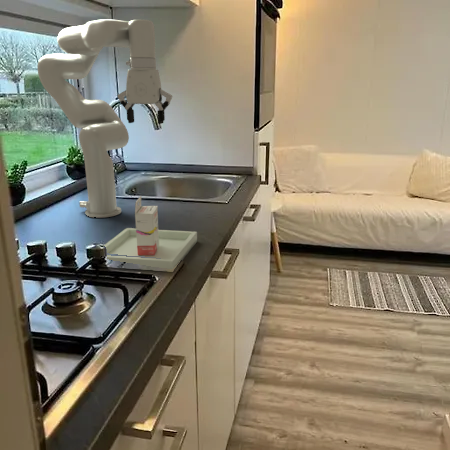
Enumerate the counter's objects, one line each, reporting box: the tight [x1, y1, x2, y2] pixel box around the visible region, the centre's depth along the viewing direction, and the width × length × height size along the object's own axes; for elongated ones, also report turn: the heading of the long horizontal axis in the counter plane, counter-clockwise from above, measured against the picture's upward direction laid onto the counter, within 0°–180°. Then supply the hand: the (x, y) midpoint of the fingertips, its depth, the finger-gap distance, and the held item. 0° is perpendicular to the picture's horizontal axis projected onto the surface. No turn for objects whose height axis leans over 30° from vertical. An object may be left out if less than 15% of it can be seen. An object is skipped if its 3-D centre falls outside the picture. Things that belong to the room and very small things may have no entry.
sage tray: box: [103, 227, 198, 269], centre depth 132 cm, size 22×24×3 cm
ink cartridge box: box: [134, 195, 159, 255], centre depth 130 cm, size 9×5×15 cm, turn 0°
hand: (146, 123), depth 148 cm, fingers open, 9 cm apart
